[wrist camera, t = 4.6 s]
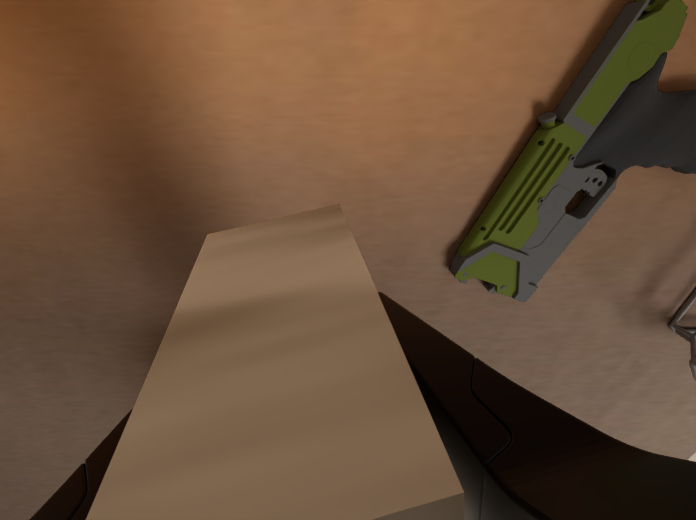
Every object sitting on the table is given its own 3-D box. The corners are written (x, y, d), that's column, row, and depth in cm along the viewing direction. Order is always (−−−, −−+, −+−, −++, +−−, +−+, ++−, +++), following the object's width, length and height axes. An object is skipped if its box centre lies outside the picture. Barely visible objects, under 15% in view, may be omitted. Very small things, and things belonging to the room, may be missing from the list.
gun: (566, 310, 31) (432, 263, 26) (754, 101, 23) (614, -23, 18) (587, 328, 28) (445, 281, 24) (803, 105, 21) (659, -35, 16)
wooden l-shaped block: (392, 475, 19) (457, 709, 12) (323, 495, 18) (349, 746, 12) (339, 203, 10) (464, 491, 3) (207, 234, 10) (44, 615, 3)
